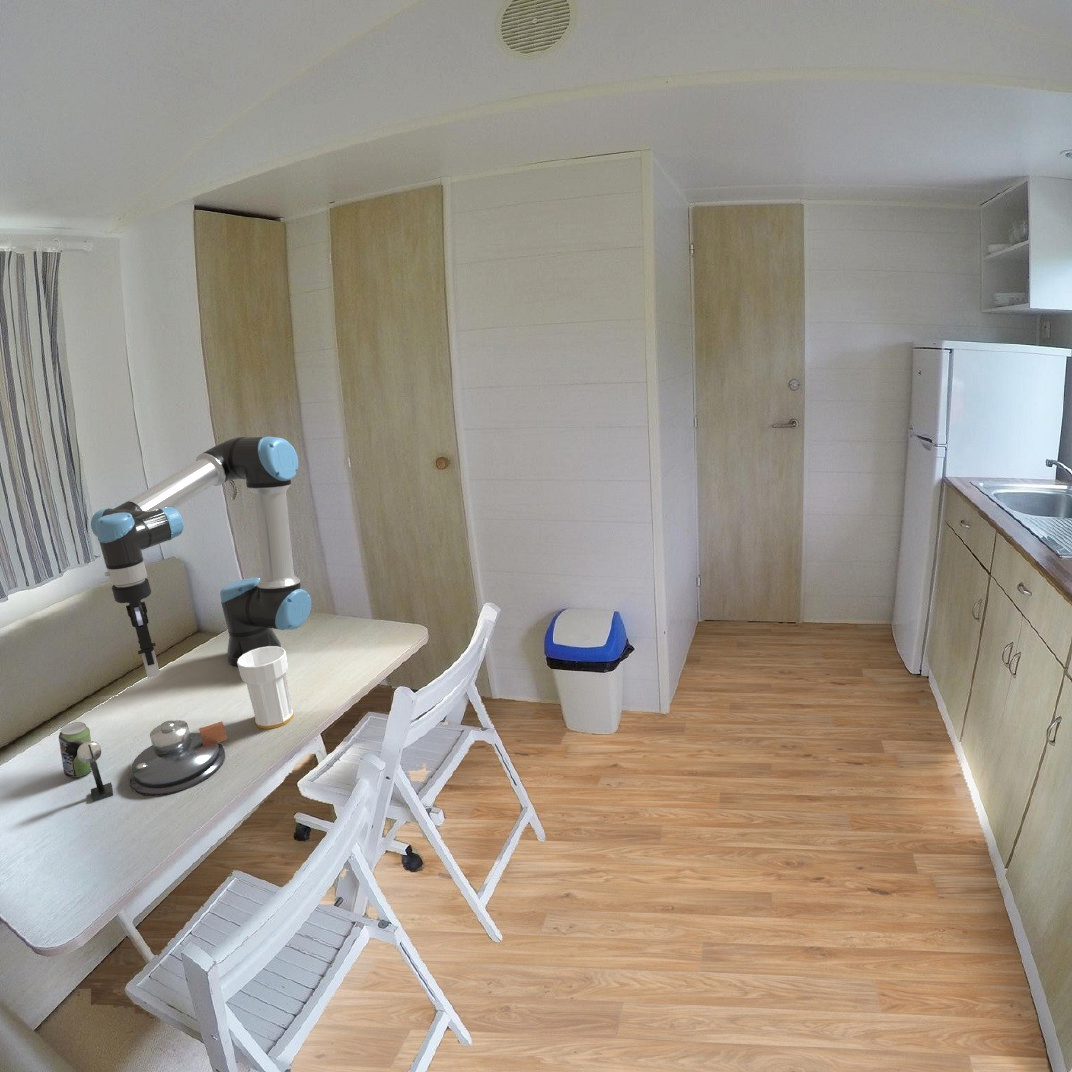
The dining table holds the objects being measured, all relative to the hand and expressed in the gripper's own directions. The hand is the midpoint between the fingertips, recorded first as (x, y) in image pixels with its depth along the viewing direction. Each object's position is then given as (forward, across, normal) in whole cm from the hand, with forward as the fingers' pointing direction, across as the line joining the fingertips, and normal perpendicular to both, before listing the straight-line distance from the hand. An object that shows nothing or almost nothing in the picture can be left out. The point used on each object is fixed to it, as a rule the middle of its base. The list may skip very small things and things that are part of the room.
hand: (153, 675), depth 180 cm
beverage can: (+18, +1, -19) cm, 26 cm away
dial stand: (+18, +14, -15) cm, 27 cm away
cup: (+18, +6, +23) cm, 30 cm away
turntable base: (+18, +14, 0) cm, 23 cm away
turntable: (+17, +14, +1) cm, 22 cm away
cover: (+14, +9, 0) cm, 17 cm away
